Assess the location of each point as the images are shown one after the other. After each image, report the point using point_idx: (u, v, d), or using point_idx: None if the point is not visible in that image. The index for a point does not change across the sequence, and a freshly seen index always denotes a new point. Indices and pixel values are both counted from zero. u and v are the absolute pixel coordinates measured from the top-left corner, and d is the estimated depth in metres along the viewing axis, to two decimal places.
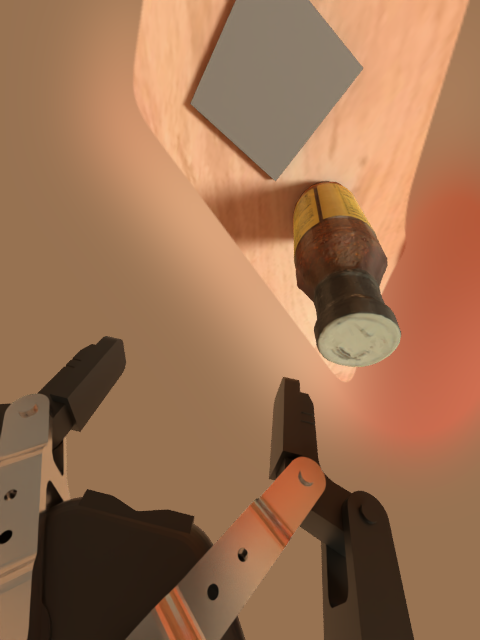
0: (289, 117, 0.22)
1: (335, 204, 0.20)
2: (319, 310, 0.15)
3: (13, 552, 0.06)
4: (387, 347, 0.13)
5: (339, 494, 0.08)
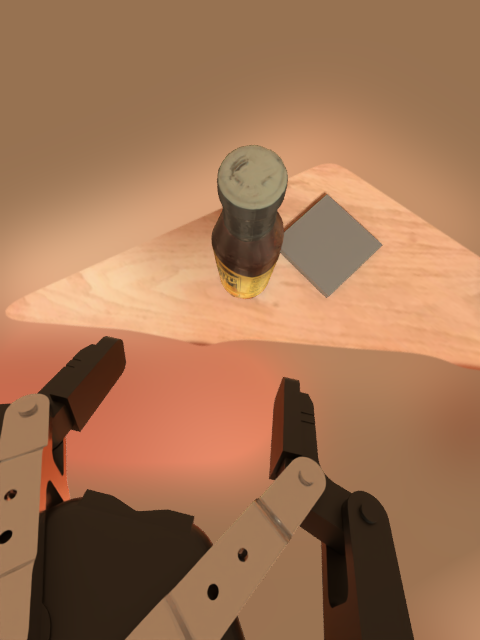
0: (311, 253, 0.34)
1: None
2: None
3: (13, 552, 0.06)
4: (247, 199, 0.14)
5: (339, 494, 0.08)
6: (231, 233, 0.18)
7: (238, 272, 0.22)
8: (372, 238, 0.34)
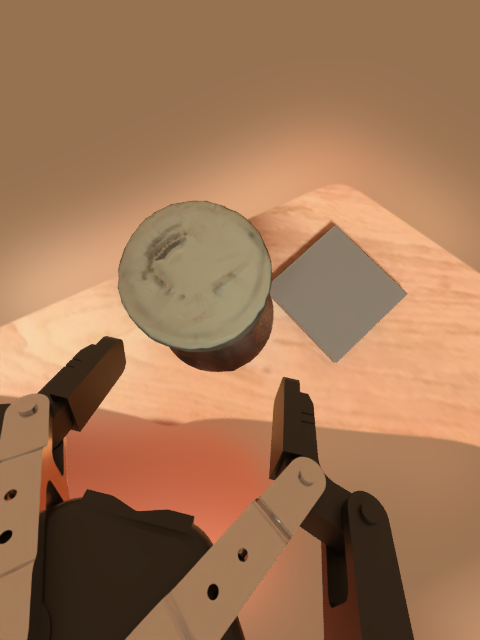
0: (314, 304, 0.26)
1: None
2: None
3: (12, 553, 0.06)
4: (179, 326, 0.06)
5: (339, 494, 0.08)
6: None
7: (202, 369, 0.14)
8: (394, 284, 0.26)
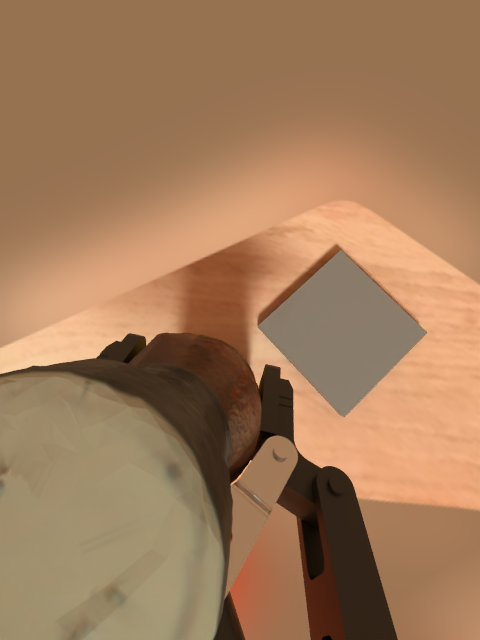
0: (316, 345, 0.22)
1: None
2: None
3: None
4: None
5: (311, 470, 0.09)
6: None
7: None
8: (411, 321, 0.22)
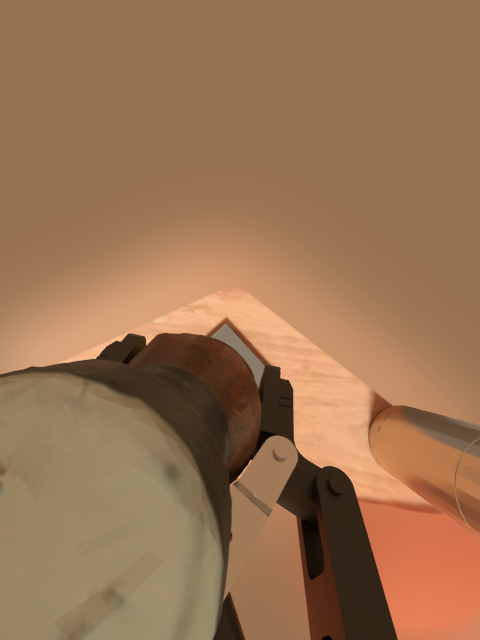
0: None
1: None
2: None
3: None
4: None
5: (311, 470, 0.09)
6: None
7: None
8: None
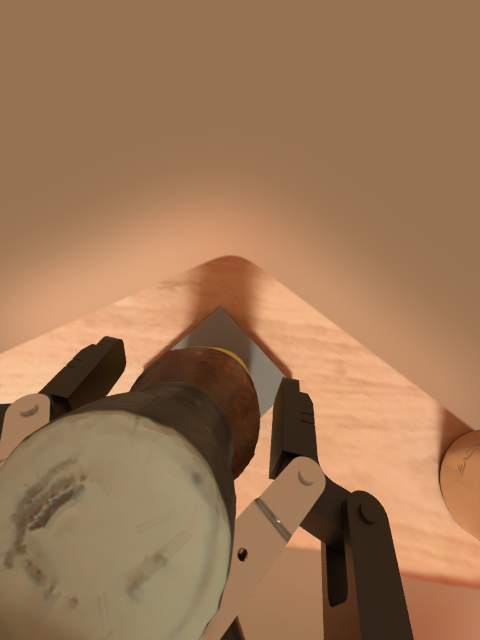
0: None
1: None
2: (175, 401, 0.06)
3: None
4: None
5: (339, 494, 0.08)
6: None
7: None
8: (279, 374, 0.24)
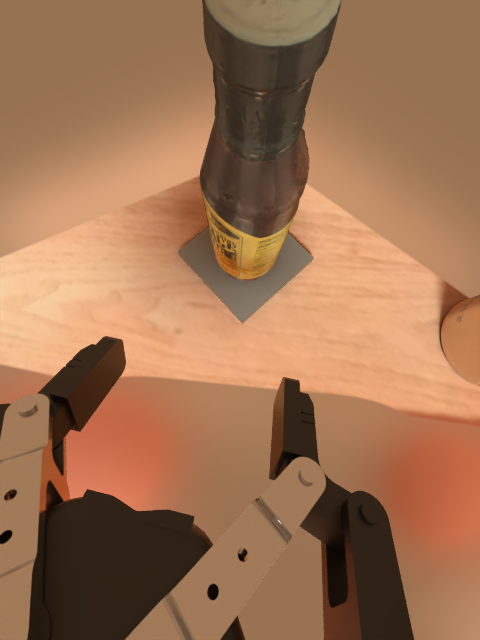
0: None
1: None
2: None
3: (13, 552, 0.06)
4: (262, 23, 0.07)
5: (339, 494, 0.08)
6: (229, 145, 0.11)
7: (239, 226, 0.15)
8: (301, 249, 0.27)
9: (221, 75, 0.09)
